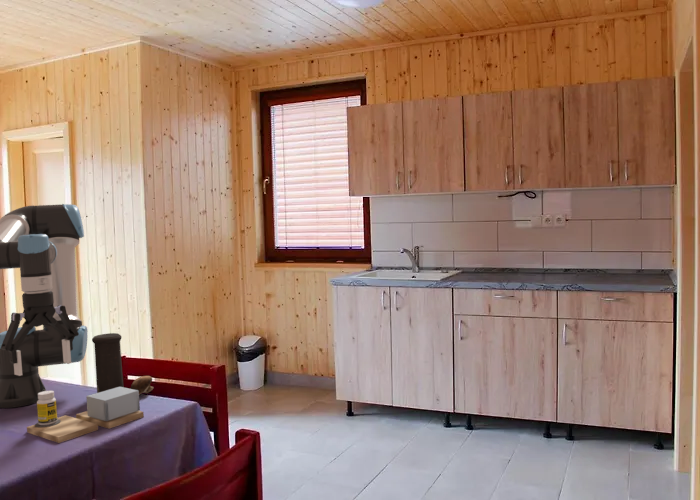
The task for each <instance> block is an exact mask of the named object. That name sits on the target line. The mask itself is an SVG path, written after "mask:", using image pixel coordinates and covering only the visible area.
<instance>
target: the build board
mask: <svg viewBox="0 0 700 500" xmlns="http://www.w3.org/2000/svg"><path fill="white" fill-rule="evenodd" d="M98 430H99V426H98V424H95V423H91V422H88V421H84V420H80V419H77V418H76V417H73V416H69V415H62V416H59V417H58V416H57V422H55V423H53V424H50V425H39V424H38V422H36V423H34V424H33V425H29V426H26V432H27V433H28V434H30V435H33V436H37V437H39V438H43V439H45V440H49V441H52V442H55V443H58V444H60V443H63V442H66V441H69V440H72V439H76V438H78V437H81V436H84V435H87V434H90V433H92V432H93V433H94V432H95V431H96V432H97V431H98Z"/></svg>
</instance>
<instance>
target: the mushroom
mask: <svg viewBox="0 0 700 500" xmlns="http://www.w3.org/2000/svg"><path fill="white" fill-rule="evenodd" d="M152 381H153V377H152V376H150V375H143V376H139V377H137V378H135V379H134V380H133V382H132V384H131V386H130V389H134V390H138V391H139V396H140V395H141V394H143V393H144V394H149V393H150V392H151V391H153V389H154V388H155V387H154V386H151V383H152Z"/></svg>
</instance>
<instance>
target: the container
mask: <svg viewBox="0 0 700 500" xmlns="http://www.w3.org/2000/svg"><path fill="white" fill-rule="evenodd" d="M121 341H122V335H121V334H119V333H114V332H113V333H112V332H110V333H104V334H103V333H102V334H97V335H93V338H92V339H91V342H92V343H93V345H94V358H95V359H94V360H95V361H94V362H95V376H96V377H95V378H96V393H99V392H103V391H106V390H110V389H113V388H117V387H124V377H123V376H124V375H123V366H122V364H123V363H122V352H121V351H122V350H121ZM124 388H125V387H124Z"/></svg>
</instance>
